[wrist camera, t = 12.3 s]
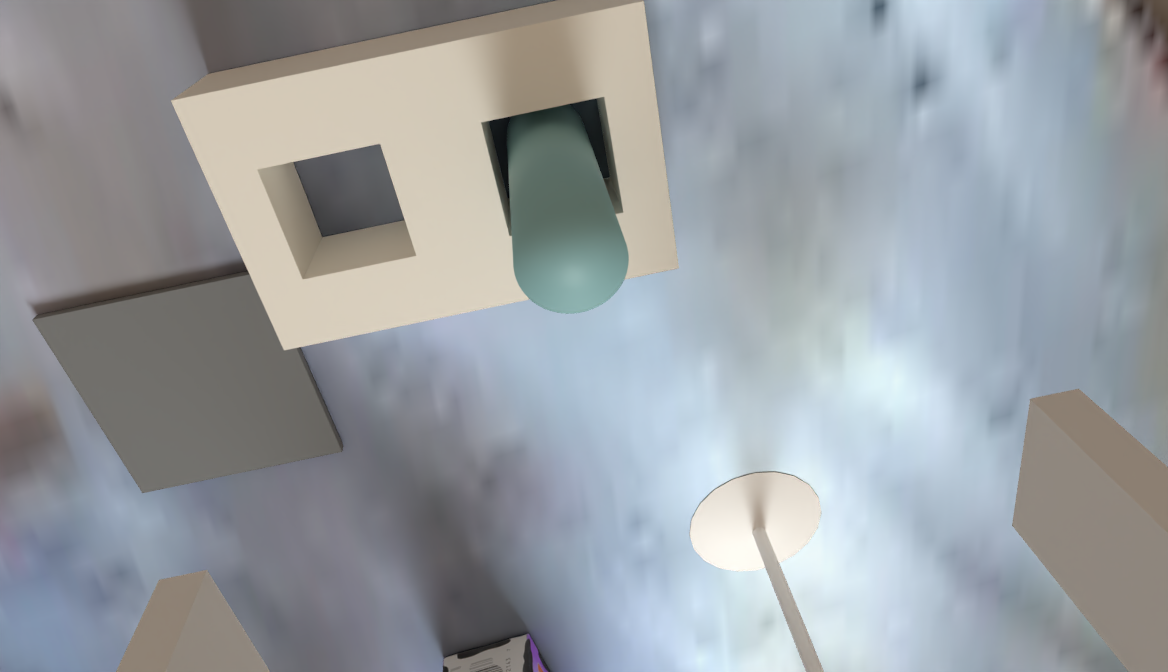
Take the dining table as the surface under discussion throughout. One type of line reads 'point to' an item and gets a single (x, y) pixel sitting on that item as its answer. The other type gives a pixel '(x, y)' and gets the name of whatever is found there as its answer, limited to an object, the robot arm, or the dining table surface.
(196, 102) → the hole block
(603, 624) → the dining table surface
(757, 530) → the wineglass
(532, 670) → the candy box
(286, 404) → the mat
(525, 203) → the peg
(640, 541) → the dining table surface
